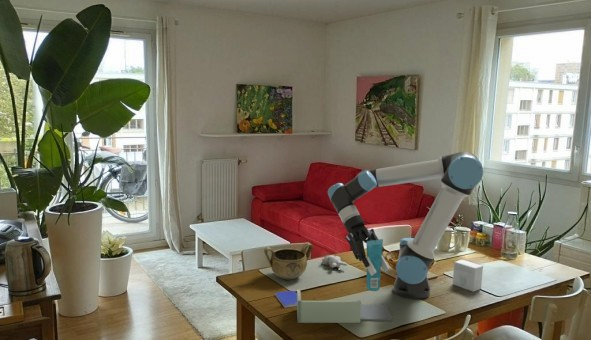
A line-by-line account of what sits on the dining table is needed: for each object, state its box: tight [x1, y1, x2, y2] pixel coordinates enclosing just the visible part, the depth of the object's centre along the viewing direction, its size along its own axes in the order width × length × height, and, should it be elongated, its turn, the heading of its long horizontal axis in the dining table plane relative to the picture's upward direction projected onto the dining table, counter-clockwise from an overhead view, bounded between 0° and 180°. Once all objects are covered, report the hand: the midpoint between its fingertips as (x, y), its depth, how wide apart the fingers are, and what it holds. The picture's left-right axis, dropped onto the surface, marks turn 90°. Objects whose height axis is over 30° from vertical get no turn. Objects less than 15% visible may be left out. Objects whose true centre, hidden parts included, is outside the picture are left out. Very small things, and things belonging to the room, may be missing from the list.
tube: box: [366, 238, 384, 292], centre depth 177 cm, size 7×5×19 cm, turn 124°
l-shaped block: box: [296, 288, 362, 324], centre depth 177 cm, size 23×11×8 cm, turn 91°
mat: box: [360, 304, 394, 322], centre depth 180 cm, size 12×12×1 cm
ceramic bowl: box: [263, 241, 314, 280], centre depth 213 cm, size 22×17×15 cm
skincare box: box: [452, 259, 484, 292], centre depth 206 cm, size 10×6×10 cm, turn 37°
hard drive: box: [275, 290, 303, 309], centre depth 191 cm, size 2×8×12 cm
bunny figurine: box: [321, 254, 348, 269], centre depth 229 cm, size 10×5×15 cm
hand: (380, 272), depth 175 cm, fingers closed on tube, 6 cm apart
